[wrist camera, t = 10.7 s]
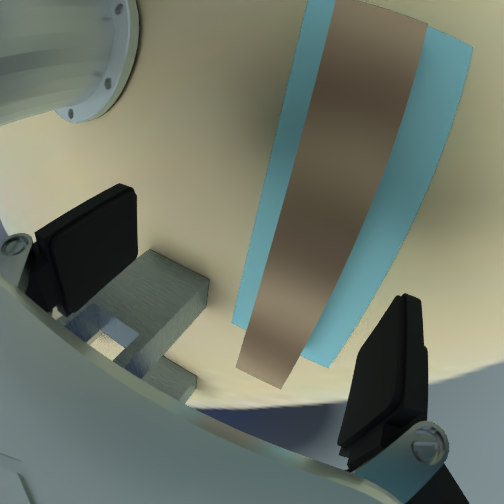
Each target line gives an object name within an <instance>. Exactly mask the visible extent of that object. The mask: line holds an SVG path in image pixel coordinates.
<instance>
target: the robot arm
mask: <svg viewBox="0 0 504 504" xmlns="http://www.w3.org/2000/svg"><path fill="white" fill-rule="evenodd" d="M138 36H139V14H138V10H137V5H136V1H135V0H0V126H2V125H5V124H8V123H11V122H14V121H17V120H21V119H24V118H27V117H31V116H34V115H38V114H41V113H45V112H49V111H52V110H55V112H56V113H57V114H58V115H59V116H60V117H61V118H63V119H64V120H66V121H68V122H72V123H81V122H86V121H90V120H93V119H96V118H98V117H99V116H101V115H102V114H104V113H105V112H106V111H107V110H108V109H109V108H110V107H111V106H112V105H113V104H114V103H115V101H116V100H117V98H118V97H119V95H120V94H121V92H122V90H123V88H124V86H125V84H126V82H127V80H128V78H129V75H130V72H131V69H132V66H133V63H134V59H135V55H136V50H137V46H138ZM35 236H36V241H37V242H35V243H34V244H33V240H32V237H31V236H30V235H28V234H25V233H18V234H14V235H11V236H9V237H7V238H6V239H4V240H3V241H2V242H1V243H0V504H469V502H468V500H467V499H466V497H465V496H464V494H463V492H462V491H461V489H460V488H459V486H458V484H457V483H456V481H455V480H454V478H453V477H452V475H451V473H450V472H449V470H448V469H447V467H446V466H445V464H444V462H445V461H446V459H447V457H448V453H449V442H448V438H447V435H446V434H445V432H444V430H443V429H442V428H441V427H440V426H439V425H437V424H435V423H433V422H431V421H427V408H428V352H427V348H426V347H425V346H424V336H423V318H422V305H421V300H420V299H418V298H416V297H413V296H411V295H408V294H406V293H404V294H403V295H402V296H398V295H397V296H396V297H395V298H394V300H393V301H392V303H391V304H390V306H389V308H388V309H387V311H386V312H385V314H384V315H383V317H382V318H381V320H380V321H379V323H378V324H377V326H376V327H375V329H374V330H373V332H372V333H371V334H370V336H369V337H368V339H367V340H366V342H365V343H364V344H363V346H362V347H361V349H360V351H359V353H358V356H357V359H356V365H355V370H354V375H353V379H352V384H351V389H350V393H349V398H348V402H347V406H346V410H345V414H344V418H343V423H342V426H341V430H340V434H339V437H338V442H337V444H338V445H339V446H341V450H340V453H339V455H340V456H344V457H347V458H349V459H348V463H347V465H348V467H349V468H347V469H346V470H342V469H339V468H336V467H333V466H330V465H328V464H325V463H322V462H319V461H316V460H314V459H311V458H308V457H305V456H302V455H299V454H296V453H294V452H291V451H288V450H286V449H283V448H280V447H278V446H275V445H273V444H270V443H268V442H265V441H263V440H260V439H258V438H256V437H253V436H251V435H248V434H246V433H244V432H241V431H239V430H237V429H235V428H232V427H230V426H228V425H226V424H223V423H222V422H219V421H217V420H215V419H213V418H211V417H209V416H207V415H205V414H203V413H201V412H199V411H197V410H195V409H193V408H191V407H189V406H187V405H185V404H183V403H182V402H180V401H178V400H176V399H174V398H172V397H171V396H169V395H167V394H165V393H163V392H162V391H160V390H158V389H156V388H155V387H153V386H151V385H150V384H148V383H146V382H145V381H143V380H141V379H140V378H138V377H136V376H135V375H133V374H132V373H130V372H128V371H127V370H125V369H124V368H122V367H121V366H119V365H117V364H116V363H114V362H113V361H111V360H110V359H108V358H107V357H105V356H104V355H103V354H101V353H100V352H98V351H97V350H95V349H94V348H93V347H91V346H90V345H88V344H87V343H86V342H84V341H83V340H81V339H80V338H79V337H77V336H76V335H75V334H73V333H72V332H71V331H69V330H68V329H67V328H65V327H64V326H63V325H62V324H60V323H59V322H58V321H57V320H55V319H54V318H53V317H52V313H53V308H54V307H57V310H58V312H60V313H61V314H62V315H64V316H65V317H66V318H67V317H69V316H70V315H71V314H72V313H75V312H77V311H78V310H79V309H81V308H82V307H83V306H84V305H85V304H86V303H87V302H88V301H89V300H90V299H91V298H93V297H94V296H95V295H96V294H97V293H98V292H99V291H100V290H101V289H103V288H104V287H105V286H106V285H107V284H108V283H109V282H111V281H112V280H113V279H114V278H115V277H116V276H117V275H119V274H120V273H121V272H122V271H123V270H124V269H125V268H127V267H128V266H129V265H130V264H131V263H133V262H134V261H135V259H136V258H137V255H138V239H137V195H136V194H135V191H134V189H133V188H132V187H129V186H126V185H123V184H120V183H119V184H116V185H115V186H113V187H111V188H109V189H107V190H105V191H103V192H102V193H100V194H98V195H96V196H94V197H92V198H91V199H89V200H87V201H85V202H84V203H82V204H80V205H78V206H77V207H75V208H73V209H72V210H70V211H68V212H67V213H65V214H63V215H62V216H60V217H58V218H57V219H55V220H54V221H52V222H50V223H49V224H47V225H46V226H44V227H42V228H41V229H39V230H38V231H36V232H35Z"/></svg>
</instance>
